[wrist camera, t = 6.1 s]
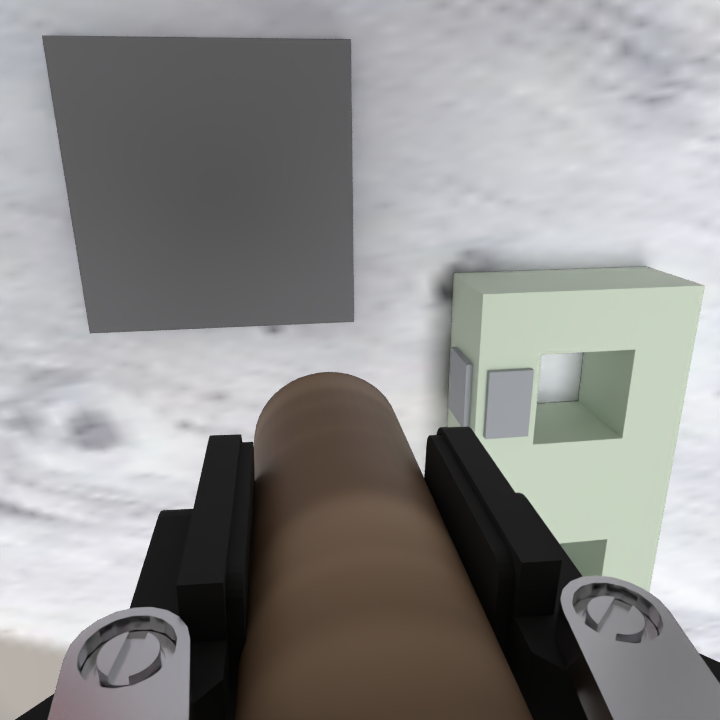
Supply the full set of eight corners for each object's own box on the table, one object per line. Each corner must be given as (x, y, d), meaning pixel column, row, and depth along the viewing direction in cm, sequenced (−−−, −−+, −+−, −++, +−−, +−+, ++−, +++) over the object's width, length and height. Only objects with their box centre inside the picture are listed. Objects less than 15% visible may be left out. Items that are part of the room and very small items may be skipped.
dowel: (252, 373, 13) (191, 976, 4) (402, 371, 13) (704, 901, 4) (256, 506, 14) (218, 1243, 5) (395, 499, 14) (623, 1162, 5)
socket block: (447, 273, 30) (478, 296, 25) (646, 266, 31) (709, 287, 27) (434, 607, 36) (456, 672, 32) (598, 590, 38) (642, 650, 33)
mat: (49, 38, 24) (41, 35, 24) (348, 42, 26) (350, 39, 25) (94, 328, 28) (89, 333, 28) (351, 317, 30) (354, 321, 29)
